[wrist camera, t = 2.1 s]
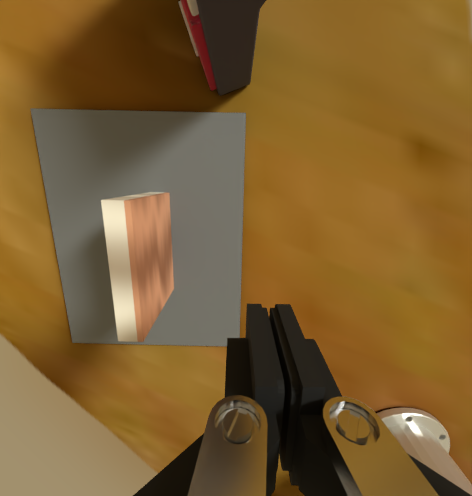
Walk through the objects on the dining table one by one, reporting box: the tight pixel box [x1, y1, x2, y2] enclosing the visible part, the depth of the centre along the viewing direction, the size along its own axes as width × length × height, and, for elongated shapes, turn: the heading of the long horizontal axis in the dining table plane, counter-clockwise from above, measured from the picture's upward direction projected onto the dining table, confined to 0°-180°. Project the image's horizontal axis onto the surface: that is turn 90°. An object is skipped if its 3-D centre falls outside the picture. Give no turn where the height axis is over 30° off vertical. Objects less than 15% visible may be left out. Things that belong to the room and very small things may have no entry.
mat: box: [31, 109, 246, 346], centre depth 26 cm, size 24×19×1 cm
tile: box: [101, 192, 174, 342], centre depth 21 cm, size 10×2×9 cm, turn 179°
